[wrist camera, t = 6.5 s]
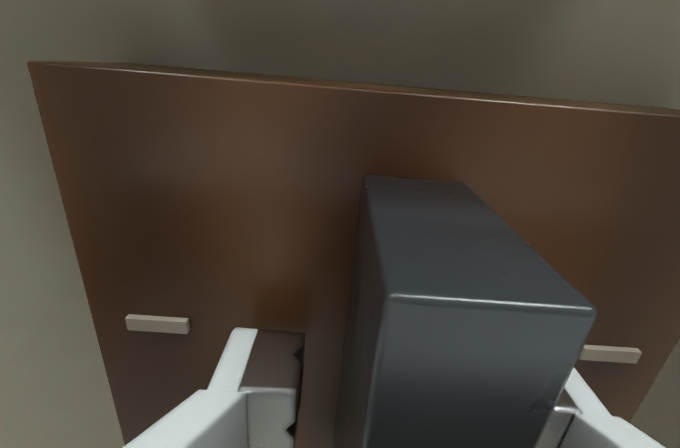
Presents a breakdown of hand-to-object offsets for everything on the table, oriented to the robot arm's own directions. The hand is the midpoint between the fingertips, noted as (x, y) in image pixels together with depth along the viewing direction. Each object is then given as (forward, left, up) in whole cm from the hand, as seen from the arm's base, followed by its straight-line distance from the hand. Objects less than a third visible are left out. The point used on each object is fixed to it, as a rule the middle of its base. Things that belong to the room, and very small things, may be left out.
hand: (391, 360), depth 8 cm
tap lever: (0, 0, -1) cm, 1 cm away
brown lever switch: (0, 0, -4) cm, 4 cm away
